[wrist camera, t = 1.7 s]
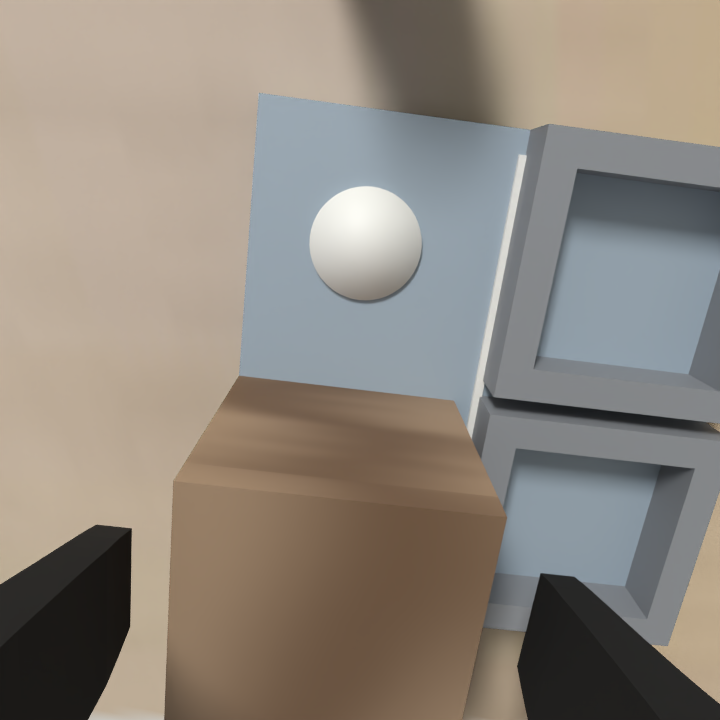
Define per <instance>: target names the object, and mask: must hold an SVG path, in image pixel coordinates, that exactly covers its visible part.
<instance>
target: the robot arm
mask: <svg viewBox="0 0 720 720" xmlns="http://www.w3.org/2000/svg"><path fill="white" fill-rule="evenodd" d="M131 538H132V529H131V528H122V527H113V526H103V525H95V526H93V527H92V528H90V529H88V530H86V531H85V532H83V533H81V534H80V535H78V536H77V537H75V538H73V539H72V540H70V541H69V542H67V543H65V544H64V545H62V546H61V547H59V548H58V549H56V550H54V551H53V552H51V553H50V554H48V555H47V556H45V557H43V558H42V559H40V560H39V561H37V562H36V563H34V564H32V565H31V566H29V567H28V568H26V569H24V570H23V571H21V572H20V573H18V574H16V575H15V576H13V577H11V578H10V579H8V580H7V581H5V582H3V583H2V584H0V720H88V719H89V717H90V715H91V713H92V711H93V709H94V707H95V706H96V704H97V702H98V700H99V698H100V696H101V694H102V692H103V691H104V689H105V687H106V685H107V683H108V680H109V678H110V675H111V673H112V671H113V668H114V666H115V663H116V661H117V659H118V656H119V654H120V651H121V648H122V646H123V643H124V641H125V638H126V636H127V633H128V631H129V628H130V604H131ZM517 667H518V673H519V678H520V683H521V688H522V694H523V699H524V704H525V708H526V713H527V717H528V720H720V704H719V703H718V702H717V701H715V700H714V699H713V698H712V697H710V696H709V695H708V694H707V693H706V692H704V691H703V690H702V689H701V688H700V687H698V686H697V685H696V684H695V683H694V682H693V681H691V680H690V679H689V678H688V677H687V676H686V675H684V674H683V673H682V672H681V671H680V670H679V669H677V668H676V667H675V666H674V665H673V664H672V663H671V662H669V661H668V660H667V659H666V658H665V657H664V656H663V655H662V654H660V653H659V652H658V651H657V650H656V649H655V648H654V647H653V646H652V645H650V644H649V643H648V642H647V641H646V640H645V639H644V638H643V637H642V636H641V635H639V634H638V633H637V632H636V631H635V630H634V629H633V628H632V627H631V626H630V625H628V624H627V623H626V622H625V621H624V620H623V619H622V618H621V617H620V616H619V615H618V614H616V613H615V612H614V611H613V610H612V609H611V608H610V607H609V606H608V605H607V604H606V603H604V602H603V601H602V600H601V599H600V598H599V597H598V596H597V595H596V594H594V593H593V592H592V591H591V590H590V589H589V588H588V587H586V586H585V585H584V584H583V583H582V582H580V581H579V580H578V579H577V578H575V577H573V576H564V575H555V574H545V573H540V577H539V581H538V585H537V589H536V593H535V597H534V601H533V605H532V609H531V613H530V617H529V621H528V625H527V629H526V633H525V637H524V641H523V645H522V649H521V653H520V657H519V661H518V665H517Z"/></svg>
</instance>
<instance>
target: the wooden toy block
mask: <svg viewBox="0 0 720 720" xmlns="http://www.w3.org/2000/svg"><path fill="white" fill-rule="evenodd" d="M506 521H507V516H506V513H505V511H504V509H503V507H502V505H501V503H500V500H499V498H498V496H497V494H496V492H495V489H494V487H493V485H492V483H491V481H490V478H489V476H488V474H487V472H486V470H485V467H484V465H483V463H482V461H481V459H480V456H479V454H478V452H477V450H476V448H475V445H474V443H473V441H472V439H471V437H470V434H469V432H468V430H467V428H466V426H465V424H464V421H463V419H462V417H461V415H460V413H459V410H458V408H457V406H456V404H455V402H454V401H453V400H444V399H436V398H427V397H419V396H410V395H401V394H393V393H384V392H376V391H367V390H358V389H350V388H341V387H333V386H324V385H315V384H307V383H298V382H290V381H281V380H272V379H264V378H255V377H247V376H239V377H238V378H237V380H236V382H235V383H234V385H233V386H232V388H231V390H230V391H229V393H228V394H227V396H226V398H225V399H224V401H223V402H222V404H221V406H220V407H219V409H218V410H217V412H216V414H215V415H214V417H213V418H212V420H211V422H210V423H209V425H208V426H207V428H206V430H205V431H204V433H203V434H202V436H201V438H200V439H199V441H198V443H197V444H196V446H195V447H194V449H193V451H192V452H191V454H190V455H189V457H188V459H187V460H186V462H185V463H184V465H183V467H182V468H181V470H180V471H179V473H178V475H177V476H176V478H175V479H174V481H173V506H172V532H171V558H170V585H169V611H168V637H167V664H166V690H165V716H164V720H462V718H463V713H464V709H465V704H466V700H467V695H468V691H469V686H470V682H471V677H472V673H473V668H474V664H475V660H476V655H477V651H478V646H479V642H480V637H481V633H482V628H483V624H484V619H485V615H486V610H487V606H488V601H489V597H490V592H491V588H492V583H493V579H494V574H495V570H496V565H497V561H498V556H499V552H500V548H501V543H502V539H503V534H504V530H505V525H506Z"/></svg>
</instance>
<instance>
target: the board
mask: <svg viewBox="0 0 720 720" xmlns="http://www.w3.org/2000/svg"><path fill="white" fill-rule="evenodd" d="M239 376H247V377H255V378H264V379H272V380H281V381H290V382H298V383H307V384H315V385H324V386H333V387H341V388H350V389H358V390H367V391H376V392H384V393H393V394H401V395H410V396H419V397H427V398H436V399H444V400H453V401H454V402H455V404H456V406H457V408H458V410H459V413H460V415H461V417H462V419H463V421H464V424H465V426H466V428H467V430H468V432H469V434H470V437H471V439H472V441H473V443H474V445H475V448H476V450H477V452H478V454H479V456H480V459H481V461H482V463H483V465H484V467H485V470H486V472H487V474H488V476H489V478H490V481H491V483H492V485H493V487H494V489H495V492H496V494H497V496H498V498H499V500H500V503H501V505H502V507H503V509H504V511H505V513H506V516H507V521H506V525H505V530H504V534H503V539H502V543H501V548H500V552H499V556H498V561H497V565H496V570H495V574H494V579H493V583H492V588H491V592H490V597H489V601H488V606H487V610H486V615H485V619H484V624H483V628H493V629H502V630H512V631H522V632H526V629H527V625H528V621H529V617H530V613H531V609H532V605H533V601H534V597H535V593H536V589H537V585H538V581H539V577H540V573H545V574H555V575H564V576H573V577H575V578H577V579H578V580H579V581H580V582H582V583H583V584H584V585H585V586H586V587H588V588H589V589H590V590H591V591H592V592H593V593H594V594H596V595H597V596H598V597H599V598H600V599H601V600H602V601H603V602H604V603H606V604H607V605H608V606H609V607H610V608H611V609H612V610H613V611H614V612H615V613H616V614H618V615H619V616H620V617H621V618H622V619H623V620H624V621H625V622H626V623H627V624H628V625H630V626H631V627H632V628H633V629H634V630H635V631H636V632H637V633H638V634H639V635H641V636H642V637H643V638H644V639H645V640H646V641H647V642H648V643H649V644H651V645H661V646H668V643H669V640H670V637H671V634H672V631H673V629H674V626H675V623H676V620H677V617H678V614H679V611H680V608H681V605H682V602H683V599H684V596H685V593H686V590H687V587H688V584H689V581H690V578H691V575H692V572H693V569H694V566H695V563H696V560H697V557H698V554H699V551H700V548H701V545H702V542H703V539H704V536H705V533H706V530H707V527H708V524H709V521H710V518H711V515H712V512H713V509H714V506H715V503H716V500H717V497H718V494H719V491H720V432H719V431H717V430H716V429H714V428H713V427H711V426H710V425H708V424H707V423H706V422H711V423H719V424H720V147H715V146H707V145H700V144H693V143H685V142H678V141H671V140H664V139H656V138H649V137H642V136H634V135H627V134H620V133H612V132H605V131H598V130H590V129H583V128H576V127H568V126H561V125H554V124H547V125H544V126H541V127H538V128H535V129H532V130H527V129H520V128H512V127H505V126H498V125H490V124H483V123H476V122H468V121H461V120H454V119H446V118H439V117H432V116H424V115H417V114H410V113H402V112H395V111H388V110H380V109H373V108H366V107H358V106H351V105H343V104H336V103H329V102H321V101H314V100H307V99H299V98H292V97H285V96H277V95H270V94H263V93H259V99H258V113H257V128H256V142H255V156H254V171H253V185H252V199H251V214H250V228H249V242H248V257H247V271H246V285H245V300H244V314H243V328H242V343H241V357H240V371H239Z"/></svg>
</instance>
